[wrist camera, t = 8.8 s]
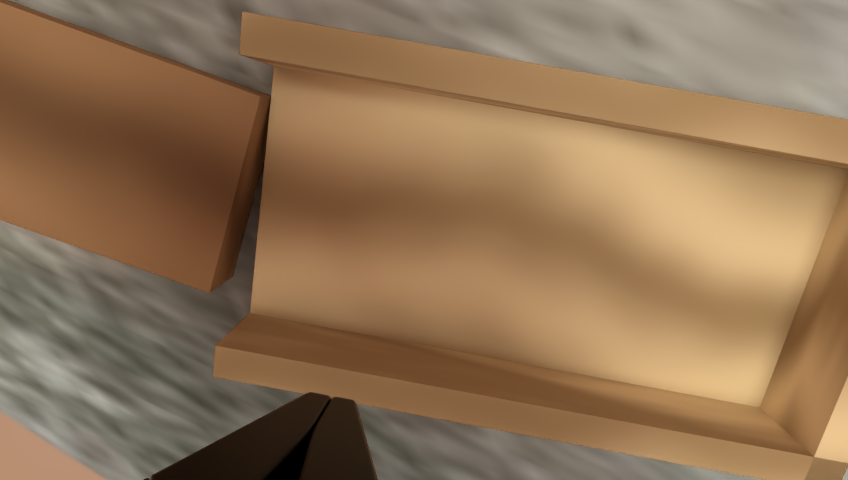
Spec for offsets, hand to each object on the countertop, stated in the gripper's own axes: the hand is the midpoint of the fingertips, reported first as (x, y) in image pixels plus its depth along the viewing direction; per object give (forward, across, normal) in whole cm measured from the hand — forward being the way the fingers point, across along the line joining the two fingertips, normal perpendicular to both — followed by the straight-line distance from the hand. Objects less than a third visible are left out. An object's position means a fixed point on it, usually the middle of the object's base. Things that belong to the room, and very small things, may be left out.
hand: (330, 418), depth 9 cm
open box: (+12, -6, -2) cm, 13 cm away
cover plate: (+12, +12, -3) cm, 17 cm away
